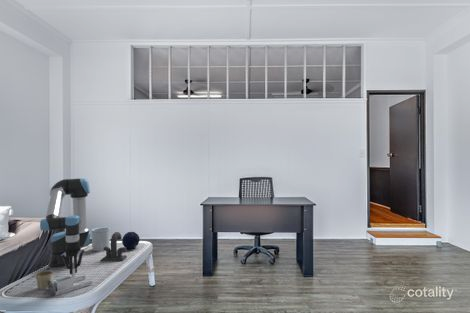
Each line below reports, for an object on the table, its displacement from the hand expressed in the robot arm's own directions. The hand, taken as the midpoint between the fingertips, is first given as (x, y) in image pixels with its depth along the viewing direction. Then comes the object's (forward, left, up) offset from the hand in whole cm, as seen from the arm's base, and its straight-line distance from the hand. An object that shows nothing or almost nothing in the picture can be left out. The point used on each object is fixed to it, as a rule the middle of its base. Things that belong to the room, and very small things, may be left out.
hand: (73, 278), depth 181 cm
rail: (+1, -2, -4) cm, 5 cm away
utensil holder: (-65, +39, -5) cm, 77 cm away
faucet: (-32, +39, -5) cm, 51 cm away
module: (+1, -6, -4) cm, 7 cm away
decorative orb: (-47, +58, -5) cm, 75 cm away
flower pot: (-10, -14, -5) cm, 18 cm away
